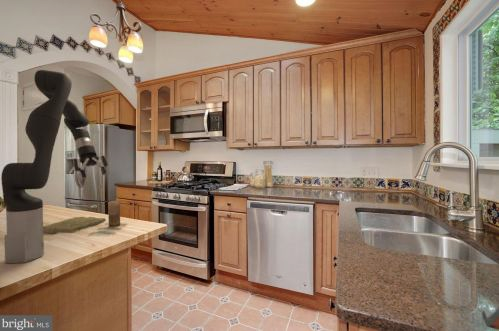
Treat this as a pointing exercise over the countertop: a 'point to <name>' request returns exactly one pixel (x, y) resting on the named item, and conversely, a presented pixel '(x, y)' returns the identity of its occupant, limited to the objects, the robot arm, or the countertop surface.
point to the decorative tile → (72, 225)
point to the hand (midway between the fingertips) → (94, 175)
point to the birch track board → (107, 230)
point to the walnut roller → (114, 213)
